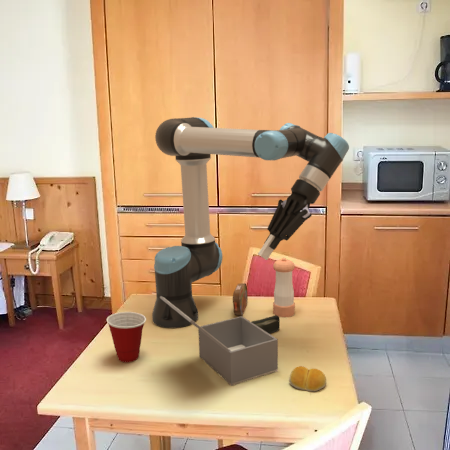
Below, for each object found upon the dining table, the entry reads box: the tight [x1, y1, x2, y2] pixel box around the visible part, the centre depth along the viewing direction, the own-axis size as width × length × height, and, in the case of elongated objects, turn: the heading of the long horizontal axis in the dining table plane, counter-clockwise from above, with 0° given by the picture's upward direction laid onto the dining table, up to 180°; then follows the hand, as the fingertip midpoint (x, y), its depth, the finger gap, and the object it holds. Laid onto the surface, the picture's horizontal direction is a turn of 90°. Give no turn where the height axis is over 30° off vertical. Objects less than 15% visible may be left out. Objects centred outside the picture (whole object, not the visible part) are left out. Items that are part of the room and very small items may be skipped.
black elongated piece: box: [251, 314, 281, 335], centre depth 156 cm, size 5×3×15 cm
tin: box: [232, 282, 249, 316], centre depth 175 cm, size 15×3×8 cm, turn 168°
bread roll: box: [288, 365, 327, 392], centre depth 129 cm, size 8×9×4 cm
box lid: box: [159, 296, 230, 353], centre depth 130 cm, size 19×14×1 cm
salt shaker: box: [272, 257, 296, 318], centre depth 171 cm, size 7×7×19 cm
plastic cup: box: [106, 311, 147, 363], centre depth 143 cm, size 11×11×12 cm
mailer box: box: [197, 315, 279, 387], centre depth 139 cm, size 18×14×9 cm
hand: (262, 257), depth 140 cm, fingers closed
